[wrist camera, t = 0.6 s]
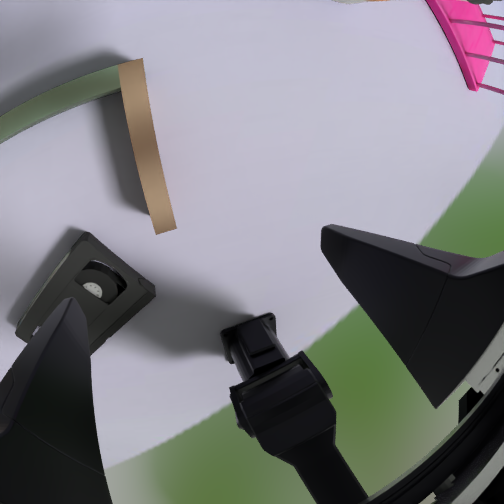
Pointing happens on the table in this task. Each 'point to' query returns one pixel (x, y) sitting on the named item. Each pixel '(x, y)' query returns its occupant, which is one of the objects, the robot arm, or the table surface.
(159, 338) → the table surface
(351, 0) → the coffee cup
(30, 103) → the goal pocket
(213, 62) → the table surface
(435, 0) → the file sorter
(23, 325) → the vhs tape
